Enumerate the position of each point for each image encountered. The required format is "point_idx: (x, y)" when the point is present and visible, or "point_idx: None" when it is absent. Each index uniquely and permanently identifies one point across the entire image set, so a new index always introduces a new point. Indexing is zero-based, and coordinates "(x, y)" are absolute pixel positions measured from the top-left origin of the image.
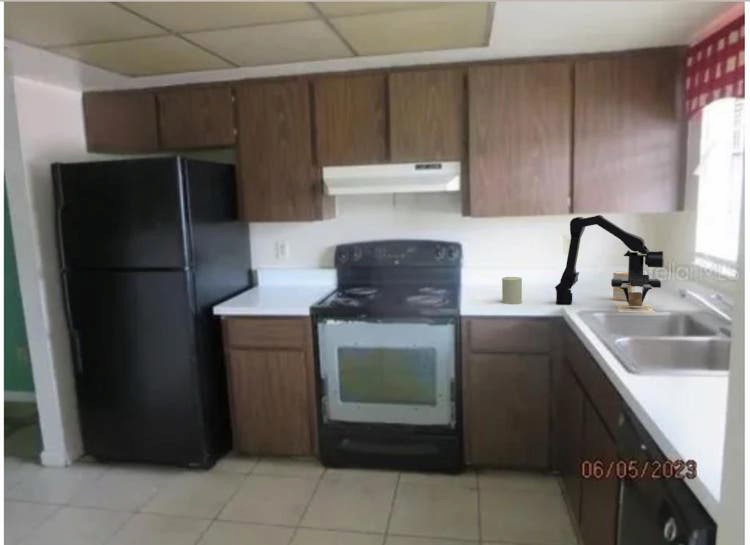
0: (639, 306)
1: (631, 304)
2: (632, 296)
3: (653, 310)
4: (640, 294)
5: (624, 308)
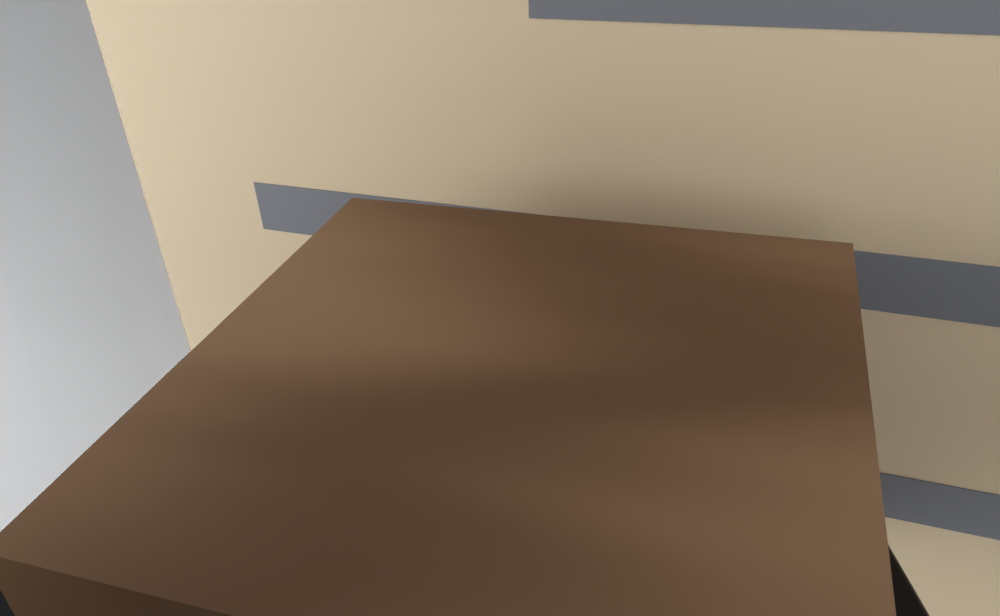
0: None
1: (743, 270)
2: (621, 566)
3: (113, 35)
4: (63, 565)
5: None
